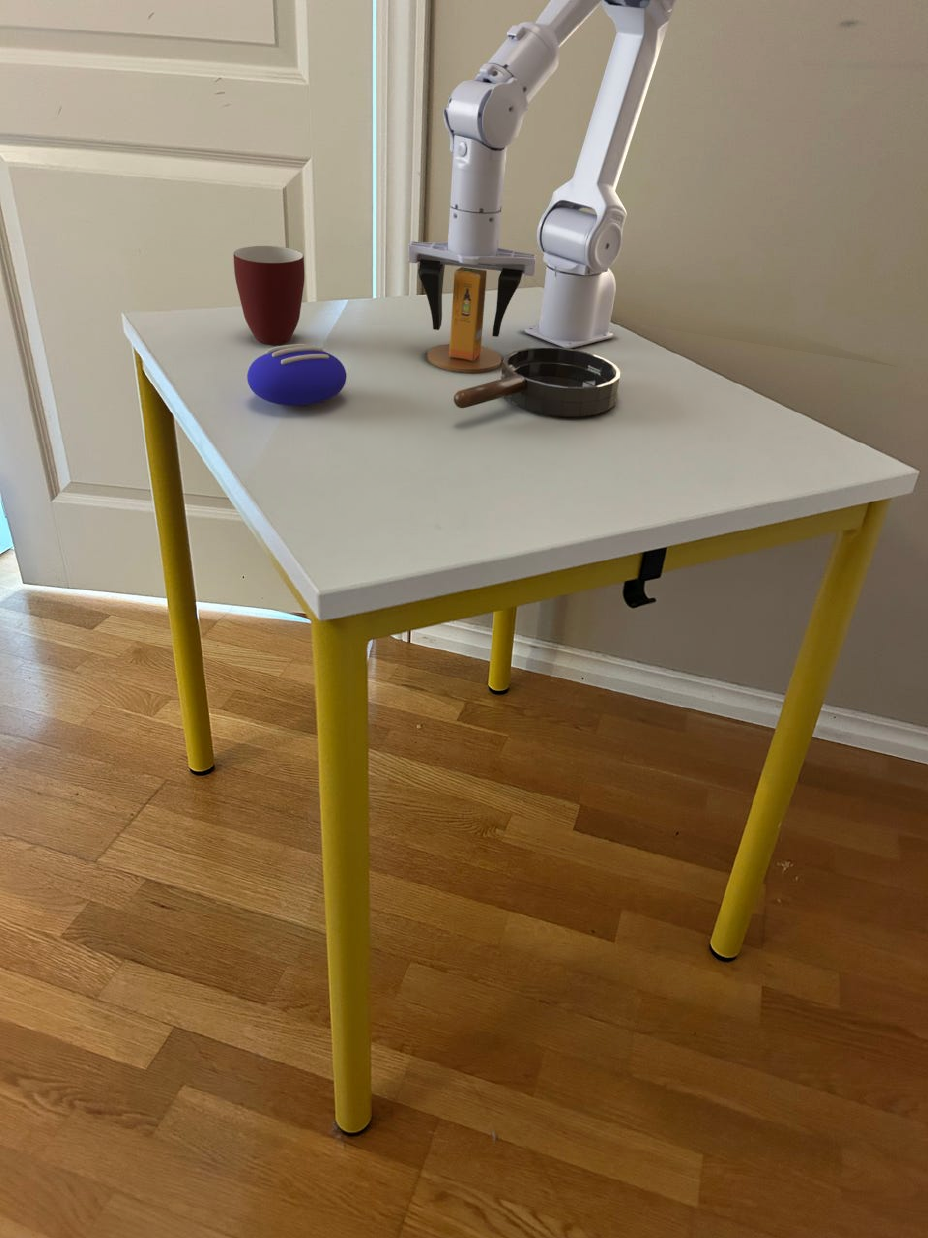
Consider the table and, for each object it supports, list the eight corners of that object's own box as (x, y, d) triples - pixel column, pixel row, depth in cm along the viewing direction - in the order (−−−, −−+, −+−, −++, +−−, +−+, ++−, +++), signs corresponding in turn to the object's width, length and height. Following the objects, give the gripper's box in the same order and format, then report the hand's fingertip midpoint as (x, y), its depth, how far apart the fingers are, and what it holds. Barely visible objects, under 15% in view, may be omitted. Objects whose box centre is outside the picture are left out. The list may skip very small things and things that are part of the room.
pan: (553, 368, 107) (557, 339, 105) (637, 403, 100) (643, 373, 98) (476, 389, 100) (479, 359, 98) (561, 429, 92) (566, 397, 90)
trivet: (466, 342, 113) (466, 338, 112) (516, 364, 107) (516, 360, 107) (412, 355, 107) (412, 351, 107) (462, 378, 102) (462, 374, 102)
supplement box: (482, 353, 108) (489, 269, 102) (473, 362, 105) (480, 275, 100) (456, 349, 109) (462, 264, 103) (447, 357, 106) (452, 271, 100)
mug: (249, 321, 113) (243, 238, 107) (312, 325, 114) (310, 243, 108) (233, 348, 105) (226, 260, 99) (302, 352, 105) (299, 265, 99)
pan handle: (516, 387, 96) (518, 371, 94) (528, 392, 95) (530, 376, 93) (449, 406, 90) (450, 389, 89) (461, 412, 89) (462, 395, 88)
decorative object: (326, 318, 95) (361, 361, 89) (326, 367, 99) (360, 412, 93) (229, 329, 91) (258, 376, 85) (234, 381, 95) (262, 428, 89)
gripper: (404, 207, 95) (400, 333, 102) (538, 221, 94) (524, 348, 102) (415, 195, 100) (411, 316, 108) (542, 209, 100) (528, 329, 107)
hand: (466, 330), depth 105 cm, fingers open, 6 cm apart
